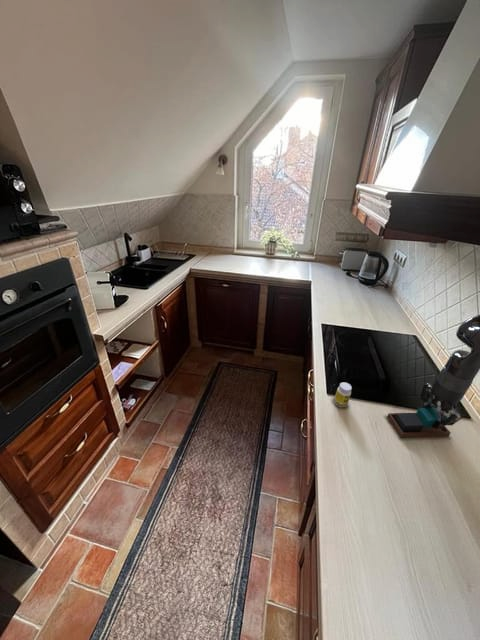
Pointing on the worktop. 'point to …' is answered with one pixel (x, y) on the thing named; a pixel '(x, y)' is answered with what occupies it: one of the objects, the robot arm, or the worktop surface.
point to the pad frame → (423, 434)
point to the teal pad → (427, 416)
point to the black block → (409, 422)
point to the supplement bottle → (343, 394)
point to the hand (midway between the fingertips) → (429, 420)
